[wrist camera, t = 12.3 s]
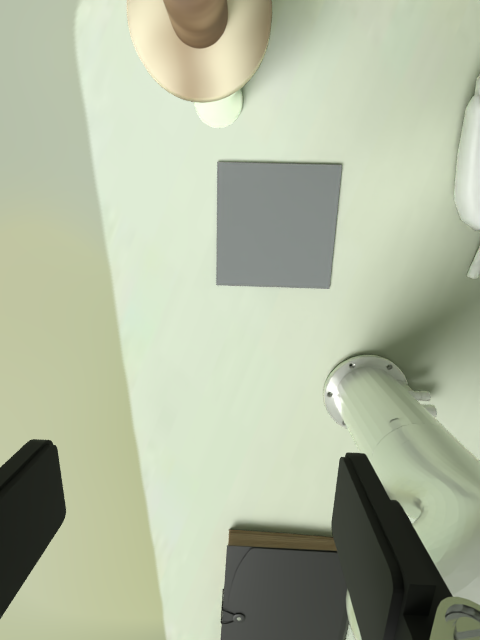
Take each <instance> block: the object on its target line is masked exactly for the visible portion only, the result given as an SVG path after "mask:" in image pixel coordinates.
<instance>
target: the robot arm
mask: <svg viewBox="0 0 480 640" xmlns="http://www.w3.org/2000/svg"><path fill="white" fill-rule="evenodd" d="M351 363H352V364H351ZM349 364H351V365H349ZM387 365H388V366H387ZM328 392H329V393H328ZM323 399H324V404H325V407H326V409H327V411H328V413H329V415H330V416H331V418H332V419H333V420H334V421H335V422H336V423H337V424H339V425H340V426H342V427H344V428H346V429H348V430H349V432H350V434H351V436H352V438H353V440H354V442H355V444H356V446H357V448H358V450H359V452H360V453H346V455H345V457H341V458H340V461H339V469H338V477H337V484H336V492H335V500H334V508H333V515H332V534H333V538H334V542H335V546H336V549H337V553H338V556H339V560H340V563H341V567H342V571H343V574H344V578H345V581H346V585H347V588H348V589H347V595H346V609H347V615H348V619H349V623H350V627H351V630H352V633H353V635H354V638H355V640H480V460H478V459H477V458H476V457H475V456H474V455H473V454H472V453H471V452H470V451H469V450H467V449H466V448H465V447H464V446H463V445H462V444H461V443H460V442H459V441H458V440H457V439H456V438H455V437H454V436H453V435H452V434H451V433H450V432H449V431H448V430H447V429H446V428H445V427H444V426H443V425H442V424H441V423H439V422H438V421H437V420H436V419H435V417H436V415H437V411H436V408H435V406H434V405H423V404H420V403H419V402H418V401H417V400H421V401H429V400H430V393H429V392H428V391H413V390H412V389H411V388H410V387H409V386H408V383H407V380H406V377H405V375H404V374H403V372H402V371H401V370H400V368H399V367H397V366H396V365H395V364H394V363H393V362H391V361H390V360H388V359H386V358H383V357H381V356H376V355H360V356H355V357H352V358H349V359H348V360H346V361H344V362H342V363H341V364H339V365H338V366H337V367H336V368H335V369H334V370H333V371H332V372H331V373H330V375H329V377H328V378H327V380H326V383H325V386H324V391H323ZM62 486H63V485H62V479H61V471H60V464H59V457H58V450H57V447H56V445H53V443H52V441H50V440H35V439H33V440H30V441H29V442H27V443H26V444H25V445H24V446H23V447H22V448H21V449H20V450H19V451H18V452H16V453H15V454H14V455H13V456H12V457H11V458H10V459H9V460H8V461H7V462H6V463H5V464H4V465H2V467H0V619H1V617H2V615H3V614H4V612H5V611H6V609H7V608H8V606H9V604H10V603H11V601H12V600H13V599H14V597H15V595H16V594H17V592H18V591H19V589H20V588H21V586H22V585H23V583H24V582H25V580H26V579H27V577H28V575H29V574H30V572H31V571H32V569H33V568H34V566H35V565H36V563H37V562H38V560H39V559H40V557H41V555H42V554H43V552H44V551H45V549H46V548H47V546H48V545H49V543H50V542H51V540H52V539H53V537H54V535H55V534H56V532H57V531H58V529H59V528H60V526H61V525H62V523H63V521H64V518H65V515H66V507H65V500H64V493H63V487H62ZM407 515H408V516H410V517H412V518H414V519H417V520H416V521H415V522H414V523H411V522H410V520H409V518H408V516H407Z"/></svg>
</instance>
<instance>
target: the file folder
mask: <svg viewBox="0 0 480 640" xmlns="http://www.w3.org/2000/svg"><path fill="white" fill-rule="evenodd" d="M347 589H348V588H347V585H346V581H345V578H344V574H343V571H342V567H341V563H340V560H339V556H338V553H337V549H336V546H335V542H334V538H333V537H323V536H311V535H299V534H288V533H273V532H258V531H243V530H229V543H228V545H227V555H226V570H225V585H224V589H223V594H224V599H223V596H222V610H223V614H222V611H221V624H222V628H221V640H345V639H346V634H347V629H348V625H349V619H348V615H347V609H346V595H347Z"/></svg>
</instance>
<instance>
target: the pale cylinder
mask: <svg viewBox="0 0 480 640" xmlns="http://www.w3.org/2000/svg"><path fill="white" fill-rule="evenodd" d="M242 104H243V97H242V91H241V89H239V90H238V91H237V92H236V93H234V94H232V95H230V96H228V97H226V98H224V99H221V100H218V101H214V102H206V103H199V102H194V106H195V110H196V112H197V115H198V116H199V118H200V119H201V120H202V121H203V122H204V123H205V124H207V125H208V126H210V127H214V128H223V127H227V126H229V125H230V124H232V123H233V122H234V121H235V120H236V119H237V117H238V116H239V114H240V112H241V109H242Z"/></svg>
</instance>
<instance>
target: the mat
mask: <svg viewBox="0 0 480 640" xmlns="http://www.w3.org/2000/svg"><path fill="white" fill-rule="evenodd" d="M341 170H342V165H322V164H281V163H240V162H217V275H216V285H228V286H259V287H290V288H321V289H329V288H330V278H331V268H332V258H333V249H334V239H335V229H336V219H337V210H338V200H339V190H340V180H341Z"/></svg>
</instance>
